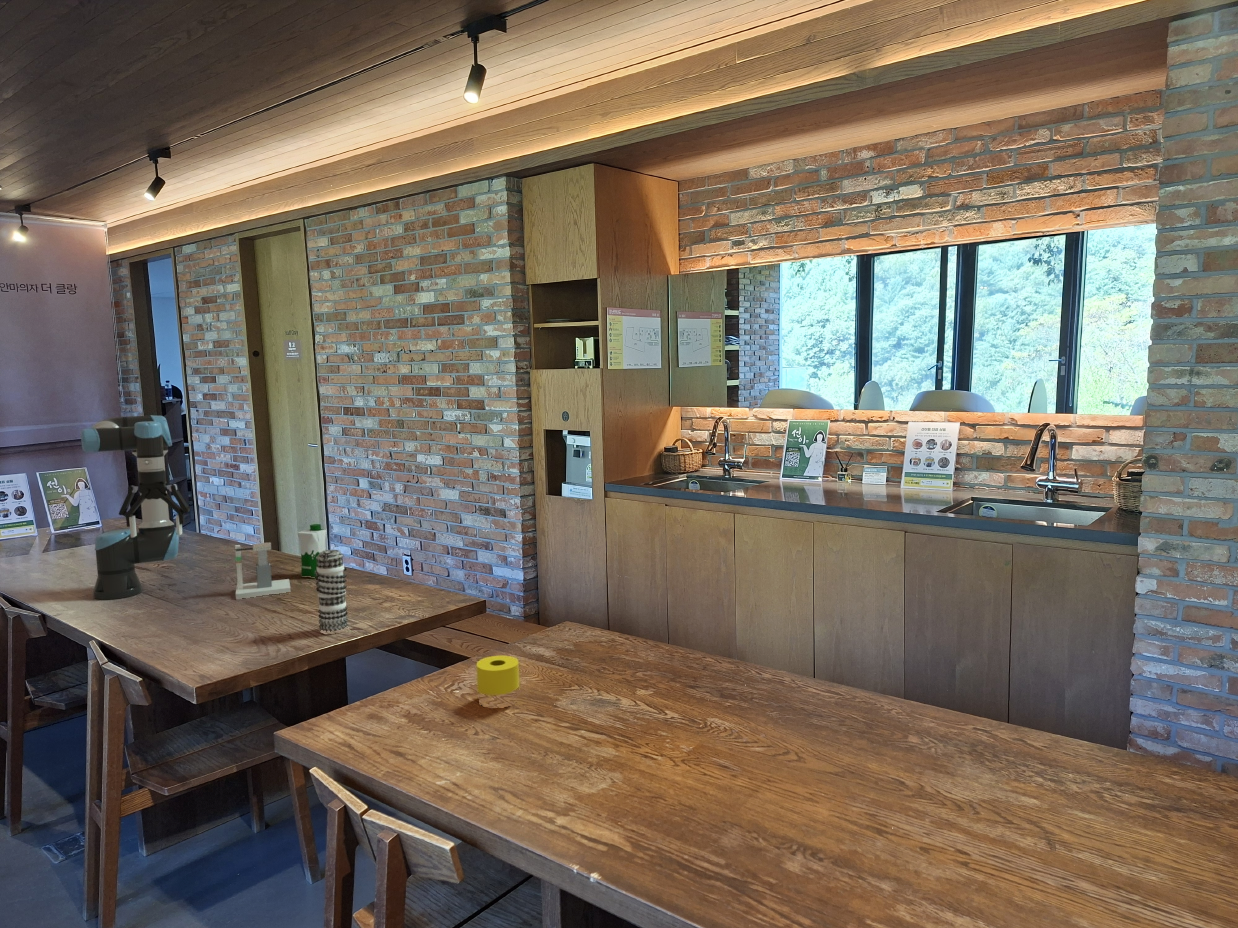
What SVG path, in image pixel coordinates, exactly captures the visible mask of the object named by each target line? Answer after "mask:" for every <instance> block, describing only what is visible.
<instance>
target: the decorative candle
mask: <svg viewBox="0 0 1238 928" xmlns="http://www.w3.org/2000/svg"><path fill="white" fill-rule="evenodd" d="M316 558H317V570H316V571H315V572H314V573H315V575H316V576H315V580H316V582H315V586H316V591H317V592H318V593H317V594H316V595H317V597H318V601H319V604H318V610H317V612H318V613H319V614H318V618H319V620H318V624H319V626H318V628H319V630H320V629H321V630H323V631H326V632H327V631H330V632H331V631H337V630H341V629H344V628H345V627H348V625H349V622H348V621H349V618H348V616H347V615H348V611H347V610H348V607H347V601H346V593H347V590H346V589H347V585H345V583H346V582H347V579H346V577H347V574H346V573H344V572H346V571H347V568H346V567H345V564H344V559H343V558H344V553H342V552H341V551H340V550H339V549H338V550H337V549H326V550H325V551H322V552H320V554H319V555H318V556H317V557H316Z"/></svg>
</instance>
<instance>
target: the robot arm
mask: <svg viewBox="0 0 1238 928" xmlns="http://www.w3.org/2000/svg"><path fill="white" fill-rule="evenodd" d="M168 424H169V423H168V421H167V418H166V417H165V416H163V415H152V414H150V415H136V416H135V415H131V416H114V417H111V418H106V419H103V420H100V421H98V422H96V423H95V424H93V425H92V427H91V428H84V429H83V428H82V430H81V431H80V441H81V448H82V449H81V450H82V451H83V452H85V453H99V452H100V453H101V452H102V453H103V452H116V451H117V452H118V451H131V453H132V455H134V456H135V457H136V463H137V464H136V465H137V470H138V472H137V476H138V478H137V479H138V486H137V485H136V486H135V485H129V486H128V487H127V494H126V497H125V499H124V500H123V502H122V505H121V507H120V509H119V512H118V515H119V516H123V517H125V522H126V527H128V528H120V529H114V530H111V531H107V532H104V533H102V534H101V533H100V534H99V535H97V536H96V537H95V540H94V551H95V557H96V559H95V560H96V570H97V577H96V581H95V585H94V588H93V598H94V599H96V600H117V599H124V598H129V597H132V596H136V595H138V594H141V593H142V592H143V584H142V582H141V581H140V577H139V576H138V574H137V572H136V567H135V565H138V564H145V563H154V562H165V561H170V560H171V561H172V560H175V559H176V558H177V557H178V553H179V541H180V536H181V535H182V534H183V525H184V524H185V523H186V521H185V520H186V519H185V514H186V513H188V512H190V511H191V508H190V507H189V505H188V503H187V501H186V500H185V498H184V497H183V495H182V494H181V492H180V491H179V486H178V484H177V483H174V484H168V485H167V476H166V467H165V466H166V465H165V455H166V454H167V453H168V452H169V447H172V446H173V442H172V437H171V433H170V428H169V425H168ZM168 490H169V492H171V493H172V496H174V498H175V500H176V501H177V502H176V501H175V500H174V499H173V498H171V497H170V495H169V494H168V492H167V491H168ZM137 491H138V492H139V493H140V495H139V497H138V498H137V500H136V501H135V502H134V503H133V504H132V506H131V507H130V505H131V503H132V500H133V498H134V496H135V493H137ZM177 503H178V504H177ZM140 506H141V517H142V518H141V519H142V521H141V522H142V523H140V524H139V526H138V531H137V524H136V522H137V521H136V515H134V513H135V512H136V510H138V508H139V507H140ZM129 507H130V508H129ZM169 507H170V508H171V509H172V510H173V511H174V512H175V513H176V515H175V523H174V522H173V521H172V520H170V513H169ZM175 525H176V526H175Z"/></svg>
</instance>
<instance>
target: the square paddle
mask: <svg viewBox="0 0 1238 928" xmlns="http://www.w3.org/2000/svg"><path fill="white" fill-rule="evenodd" d="M250 550H251V551H252V552H257V559H258V564H259V566H267V565H268V563H269V562H268V551H270V550H272V542H260V543H252V547H245V548H240V549H236V551H242V552H243V551H250Z"/></svg>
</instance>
